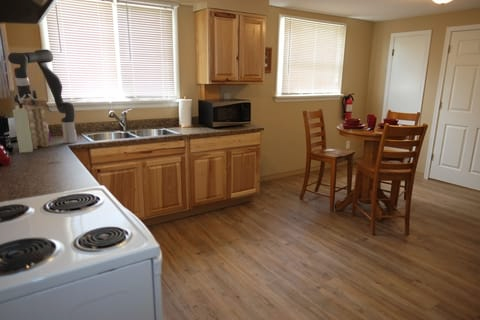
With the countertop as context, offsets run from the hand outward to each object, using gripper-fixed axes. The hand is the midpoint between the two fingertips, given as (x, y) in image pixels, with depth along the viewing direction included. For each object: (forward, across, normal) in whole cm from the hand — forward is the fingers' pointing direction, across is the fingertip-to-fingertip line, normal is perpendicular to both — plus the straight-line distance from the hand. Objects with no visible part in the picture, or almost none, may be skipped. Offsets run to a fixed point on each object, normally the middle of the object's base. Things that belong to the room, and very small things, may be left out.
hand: (27, 106), depth 227 cm
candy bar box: (+44, -22, -25) cm, 55 cm away
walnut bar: (+6, -12, -13) cm, 19 cm away
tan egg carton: (+38, -6, -11) cm, 40 cm away
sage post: (+33, +7, -1) cm, 34 cm away
